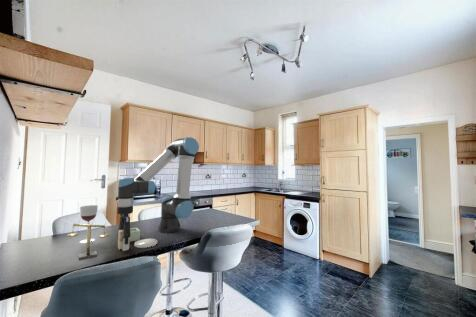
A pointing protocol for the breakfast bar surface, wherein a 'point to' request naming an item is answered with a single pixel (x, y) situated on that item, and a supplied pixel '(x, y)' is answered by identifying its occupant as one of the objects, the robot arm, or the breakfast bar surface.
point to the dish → (145, 243)
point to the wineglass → (88, 215)
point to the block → (120, 240)
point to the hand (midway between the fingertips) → (123, 247)
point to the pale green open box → (134, 234)
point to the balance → (88, 240)
